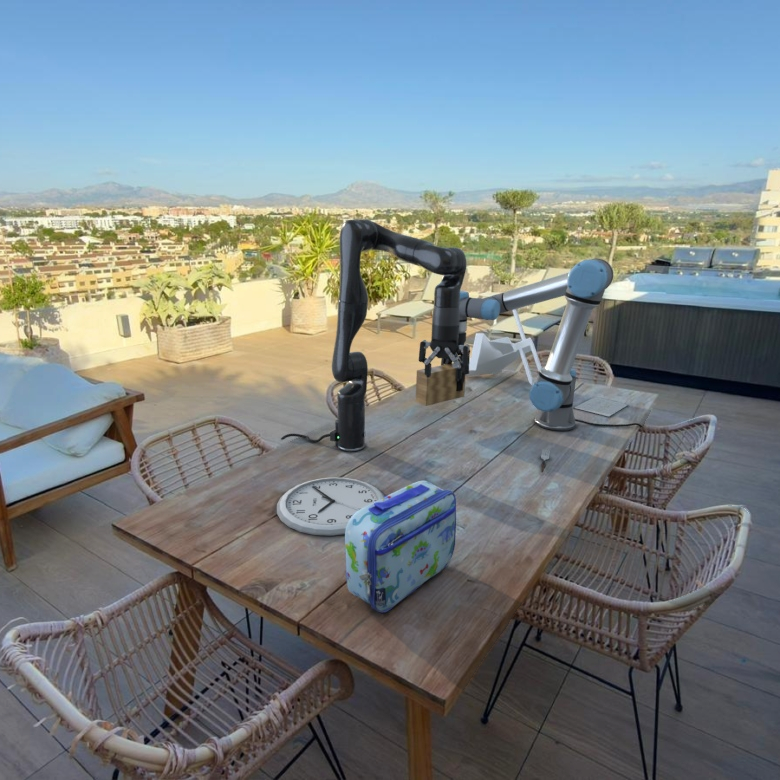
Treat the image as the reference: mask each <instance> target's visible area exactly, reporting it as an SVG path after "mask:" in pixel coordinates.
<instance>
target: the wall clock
mask: <svg viewBox="0 0 780 780" xmlns="http://www.w3.org/2000/svg"><path fill="white" fill-rule="evenodd" d="M384 497H386V495H385V494H384V493H383V492H382V491H381V490H380V489H379V488H377V487H376V486H374V485H372V484H371V483H369V482H365V481H362V480H359V479H355V478H349V477H338V476H337V477H335V476H333V477H332V476H331V477H322V478H317V479H312V480H307V481H305V482H302V483H299V484H297V485H295V486H293V487H292V488H290V489H288V490H287V491H286V492H285V493H284V494H283V495H281V496H280V498H279V499H278V502H277V503H276V515H277V517H278V518H279V520H280V521H281V522H282V523H283V524H285V525H286V526H287V527H288V528H290V529H293V530H295V531H297V532H299V533H303V534H308V535H312V536H327V537H328V536H329V537H331V536H332V537H333V536H342V535H345V531H346V527H347V524H348V522H349V520H350V518H351V517H352V515H353V514H354V513H355V512H357V511H358V510H360V509H362V508H364V507H366V506H368V505H370V504H372V503H374V502H376V501H378V500H380V499H382V498H384Z"/></svg>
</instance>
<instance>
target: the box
mask: <svg viewBox="0 0 780 780" xmlns="http://www.w3.org/2000/svg"><path fill="white" fill-rule="evenodd" d="M456 368H457V367H456V365H455V364H454V362H452V364H447V365H441V364H440V365H437V366H431V376H430V377H429V378H428V377H426V375H425V368H422V369H417V370H416V377H415V378H416V380H415V403H417V404H420V405H422V406H424V407H428V406H432V405H437V404H441V403H444V402H449V401H453V400H456V399H460V398H465V390H466V377H467V376H466V375H465V376H464V383H463V390H461V391H456V390H457V381H455V376H456Z"/></svg>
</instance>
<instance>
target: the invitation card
mask: <svg viewBox="0 0 780 780" xmlns="http://www.w3.org/2000/svg"><path fill="white" fill-rule="evenodd" d="M628 406H629V404H627V403H623V402H618V401H614V400H609V399H605V398H601V397H596V396H593V397H592V398H590V399H588V400H586V401H584V402H582V403H580V404H578V405H575V406H574V407H573V409H575V410H581V411H584V412H587V413H593V414H596V415H600V416H604V417H608V418H609V417H611V416H613V415H614V414H616V413H617V412H619V411H621V410H623V409H624V408H626V407H628Z"/></svg>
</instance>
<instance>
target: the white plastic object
mask: <svg viewBox="0 0 780 780" xmlns="http://www.w3.org/2000/svg"><path fill="white" fill-rule="evenodd" d="M511 311H512V314H513V317H514V320H515V323H516V326H517V328H518V333H519V336H520V338H521V340H520V341H518V342H515V343H514V342H512V340H511V339H510V337H509V336H505V337H500V338H496V339H490V338H488V336H487V335H486V334H485V333H484V332H476V333H475V335H474V336H475V337H474V341H473V345H472V348H471V349H472V350H471V353H470V363H469V374H466V376H465V377H475V376H484V375H493V376H495V375H498V374H502V373H503V371H502V370H504V369H505V368H507V367H508V366H509V365H511V364H513V363H514V362H516V360H518V359H519V358H520V359H521V361H522V364H523V367H524V370H525V373H526V377H527V379H528V382H529V384H530V386H531V387H532V386H533V385H534V384H535V380H534V377H533V375H532V374H533V373H532V372H531V368H530V365H529V363H528V358H527V355H526V354H528V353H530V352H531V353H532V356H533V359H534V362H535V365H536V368H537V371H538V372H539V371H540V369H541V368H543V366H542V364H541V361H540V358H539V355H538V352H537V349H536V346H535V343H534V341H533V339H532V338H531V337H528V338H527V337H526V334H525V331H524V328H523V325H522V323H521V318H520V316H519V313H518V311H517V309H514V310H511Z"/></svg>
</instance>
